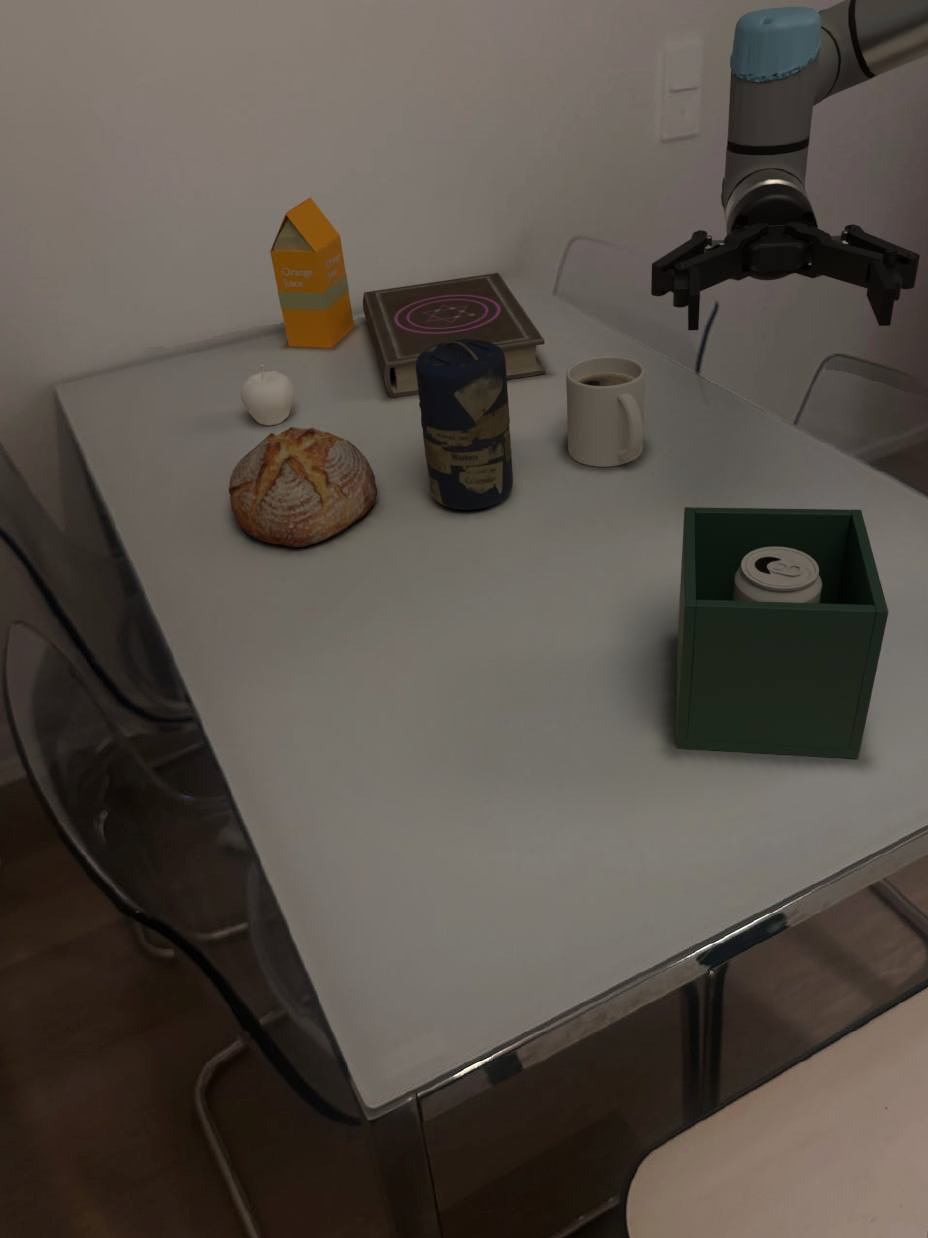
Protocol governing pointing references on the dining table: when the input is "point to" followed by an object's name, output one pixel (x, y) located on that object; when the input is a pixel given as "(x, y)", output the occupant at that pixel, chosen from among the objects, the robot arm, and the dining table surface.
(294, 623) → the dining table surface
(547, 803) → the dining table surface
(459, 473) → the canister
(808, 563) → the beverage can
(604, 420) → the mug
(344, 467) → the bread
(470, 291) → the book
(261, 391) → the plain white apple
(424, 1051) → the dining table surface
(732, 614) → the waste bin
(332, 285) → the orange juice
